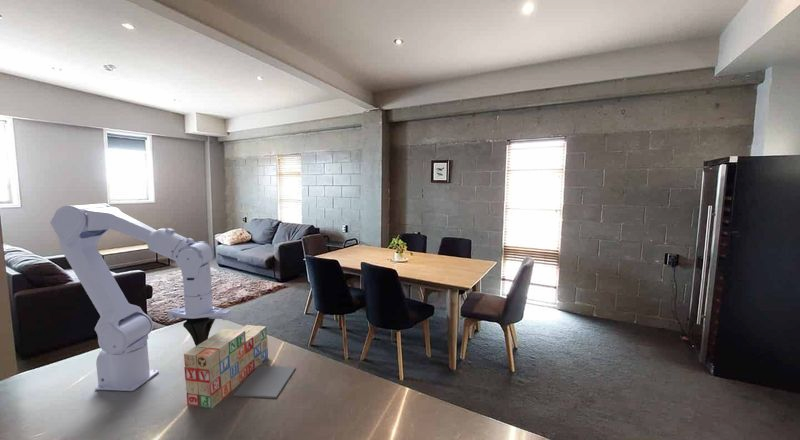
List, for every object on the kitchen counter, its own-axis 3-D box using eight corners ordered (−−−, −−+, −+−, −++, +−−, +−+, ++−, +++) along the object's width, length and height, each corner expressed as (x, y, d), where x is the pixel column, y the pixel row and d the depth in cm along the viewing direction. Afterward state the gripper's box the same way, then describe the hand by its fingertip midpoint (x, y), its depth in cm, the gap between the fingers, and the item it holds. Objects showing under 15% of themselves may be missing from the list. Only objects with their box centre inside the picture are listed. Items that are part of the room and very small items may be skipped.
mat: (233, 396, 74) (233, 394, 74) (258, 366, 86) (258, 365, 86) (276, 398, 74) (276, 396, 74) (295, 368, 86) (295, 366, 86)
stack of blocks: (248, 355, 92) (246, 313, 91) (268, 357, 91) (267, 315, 89) (186, 406, 71) (182, 352, 70) (211, 409, 70) (208, 355, 69)
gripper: (236, 288, 82) (239, 339, 83) (181, 287, 83) (184, 337, 84) (219, 297, 75) (223, 353, 76) (159, 296, 76) (163, 351, 77)
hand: (201, 346), depth 80 cm, fingers closed
